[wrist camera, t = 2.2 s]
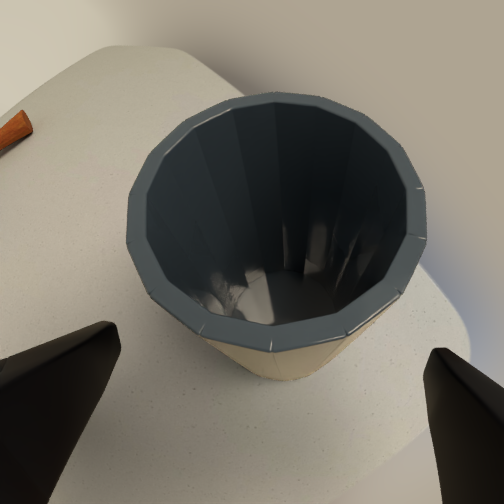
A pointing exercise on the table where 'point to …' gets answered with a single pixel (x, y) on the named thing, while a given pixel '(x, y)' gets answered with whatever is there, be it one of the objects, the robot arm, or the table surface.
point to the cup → (277, 228)
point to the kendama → (15, 129)
